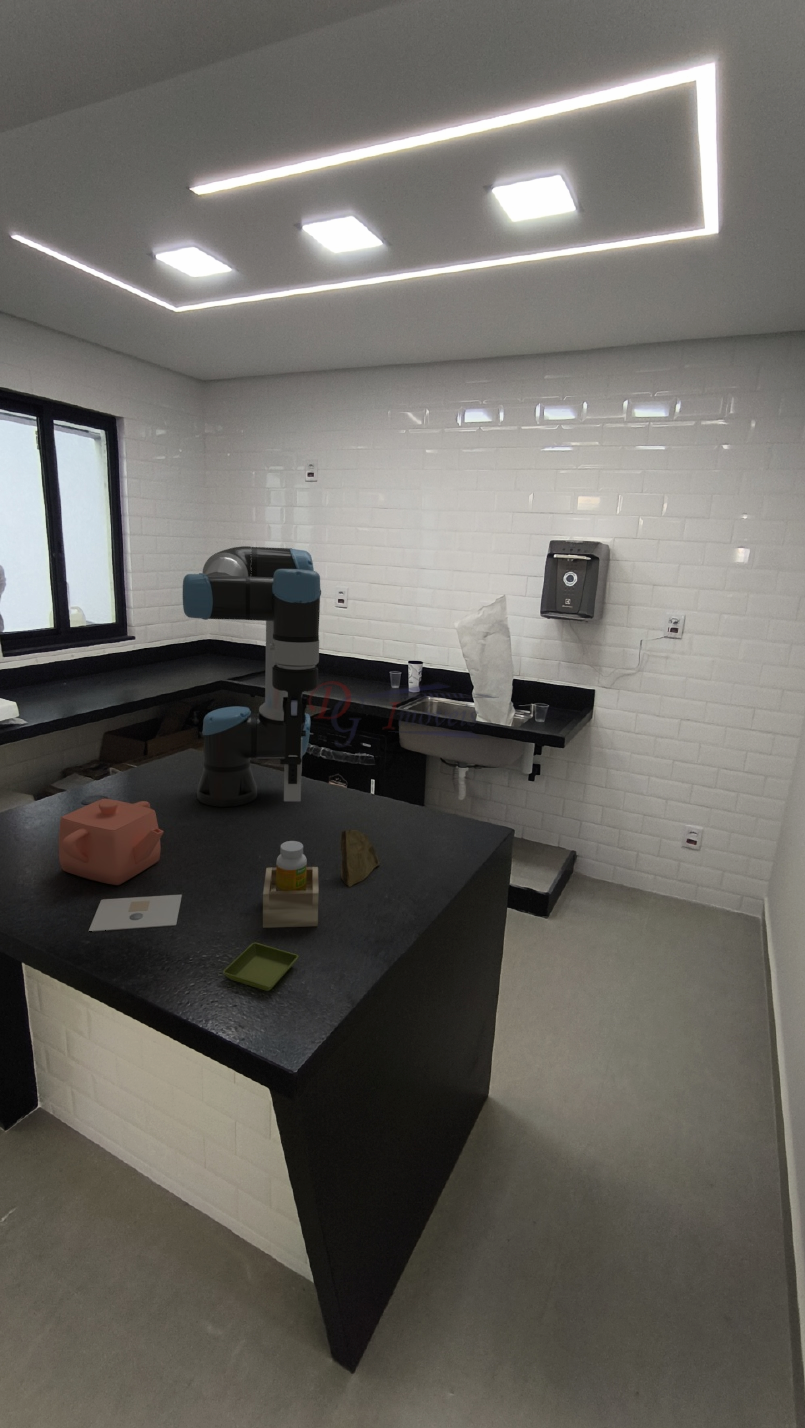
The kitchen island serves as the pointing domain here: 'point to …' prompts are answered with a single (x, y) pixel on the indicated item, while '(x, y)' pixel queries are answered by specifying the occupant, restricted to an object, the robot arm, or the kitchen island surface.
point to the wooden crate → (290, 902)
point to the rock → (356, 857)
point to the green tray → (260, 966)
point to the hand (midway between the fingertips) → (293, 785)
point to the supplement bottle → (291, 867)
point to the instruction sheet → (136, 913)
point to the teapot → (109, 840)
